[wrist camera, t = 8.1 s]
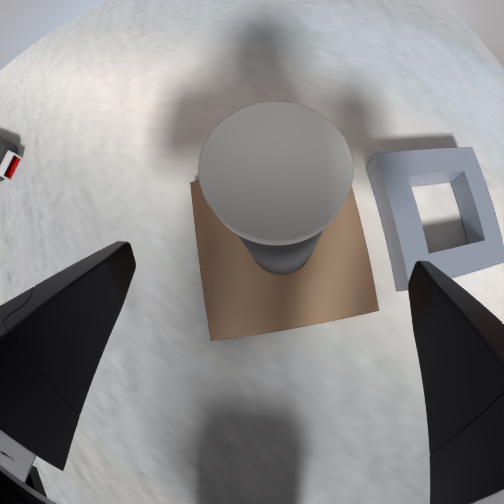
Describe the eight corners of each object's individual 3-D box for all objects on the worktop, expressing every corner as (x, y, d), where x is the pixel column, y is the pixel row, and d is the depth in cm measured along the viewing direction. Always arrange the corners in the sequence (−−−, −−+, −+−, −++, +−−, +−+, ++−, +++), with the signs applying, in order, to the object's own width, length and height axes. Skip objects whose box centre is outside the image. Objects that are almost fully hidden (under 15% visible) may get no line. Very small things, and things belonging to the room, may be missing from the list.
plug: (270, 290, 21) (248, 270, 8) (234, 233, 22) (174, 147, 9) (328, 254, 21) (383, 186, 8) (291, 198, 22) (294, 82, 9)
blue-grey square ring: (396, 291, 21) (409, 289, 18) (366, 168, 22) (374, 153, 20) (489, 265, 20) (506, 261, 17) (459, 159, 22) (472, 147, 19)
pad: (214, 339, 21) (211, 340, 20) (193, 187, 24) (190, 182, 23) (374, 310, 20) (378, 310, 20) (340, 160, 23) (342, 154, 22)
